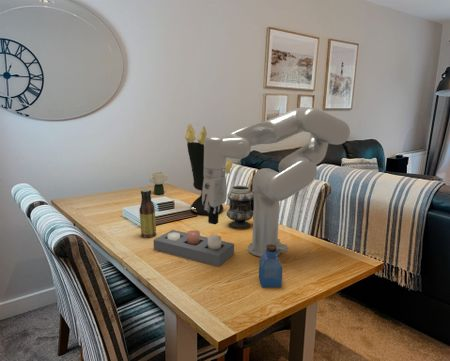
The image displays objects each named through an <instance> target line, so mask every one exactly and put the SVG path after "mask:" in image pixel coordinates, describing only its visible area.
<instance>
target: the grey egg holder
mask: <svg viewBox="0 0 450 361" xmlns="http://www.w3.org/2000/svg"><path fill="white" fill-rule="evenodd" d="M172 232H176V233H179V234H180V239H178V240H176V241H174V240H169V239H168V238H167V235H168V234H169V233H172ZM153 250H154V251H156V252H161V253H164V254H168V255H172V256H177V257H181V258H184V259H188V260H191V261H196V262H200V263H203V264H207V265H211V266H215V267H218V268H219V267H220V266H221V265H222V264H223V263H225V262H226V261H227V260H228V259H229V258H230V257H232V256H233V255H234V254H235V243H234V242H229V241H225V240H221V249H219V250H218V251H215V250H211V249H208V237H207V236H202V235H200V243H199V244H198V245H196V246H195V245H190V244H187V232H184V231H180V230H175V229H172V230H170V231H167V232H165V233H163V234H162V235H160V236H158V237H156V238H155V239H153Z"/></svg>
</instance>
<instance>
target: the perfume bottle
mask: <svg viewBox="0 0 450 361" xmlns="http://www.w3.org/2000/svg"><path fill="white" fill-rule="evenodd" d="M266 247H267V249H266V254H263V255H262V257H260V258H259V260H258V261H259V262H258V263H259V264H258V265H259V266H258V279H259V283H260V287H261V288H282V285H283V284H282V283H283V267H282V263H281V262H280V259H279V258H278V255H277V250H276V248H277V246H276V245H272V244H269V245H267V246H266Z"/></svg>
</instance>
